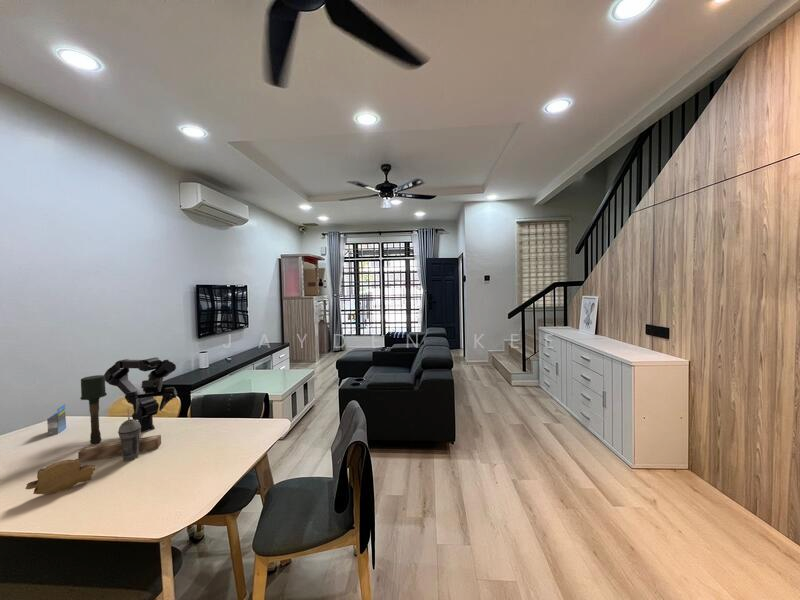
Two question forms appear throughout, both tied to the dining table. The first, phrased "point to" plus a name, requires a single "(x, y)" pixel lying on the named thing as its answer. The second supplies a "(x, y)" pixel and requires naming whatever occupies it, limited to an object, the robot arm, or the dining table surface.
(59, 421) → the label tape cartridge
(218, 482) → the dining table surface
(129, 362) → the robot arm
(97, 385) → the stick grenade
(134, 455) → the beverage cup
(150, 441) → the slotted wooden bar
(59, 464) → the wooden carving
